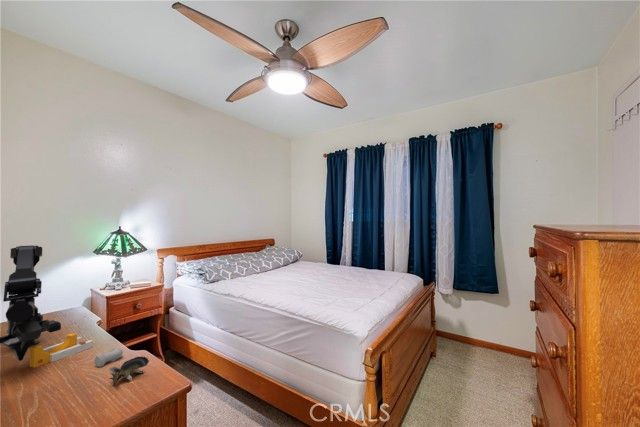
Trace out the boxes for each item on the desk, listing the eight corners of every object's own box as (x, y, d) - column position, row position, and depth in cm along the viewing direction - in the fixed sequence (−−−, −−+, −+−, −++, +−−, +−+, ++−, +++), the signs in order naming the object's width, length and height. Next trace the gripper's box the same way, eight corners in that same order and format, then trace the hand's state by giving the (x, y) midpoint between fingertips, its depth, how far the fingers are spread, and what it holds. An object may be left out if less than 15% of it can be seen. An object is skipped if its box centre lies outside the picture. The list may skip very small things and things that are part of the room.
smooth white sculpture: (117, 358, 96) (125, 357, 94) (91, 369, 89) (99, 368, 87) (116, 346, 97) (124, 345, 95) (90, 356, 90) (98, 354, 88)
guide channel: (38, 356, 95) (39, 347, 95) (79, 342, 106) (79, 334, 106) (52, 362, 91) (52, 352, 91) (92, 347, 102) (93, 338, 102)
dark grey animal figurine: (123, 387, 76) (153, 366, 84) (111, 366, 77) (142, 347, 85) (113, 394, 79) (143, 373, 87) (102, 373, 80) (133, 354, 88)
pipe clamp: (69, 349, 101) (69, 332, 101) (76, 350, 100) (77, 334, 100) (26, 365, 89) (27, 346, 90) (34, 367, 88) (34, 348, 88)
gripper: (-12, 328, 76) (-14, 382, 76) (69, 308, 93) (68, 352, 93) (-27, 322, 80) (-29, 373, 80) (54, 304, 98) (52, 346, 97)
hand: (20, 360), depth 87 cm, fingers closed
